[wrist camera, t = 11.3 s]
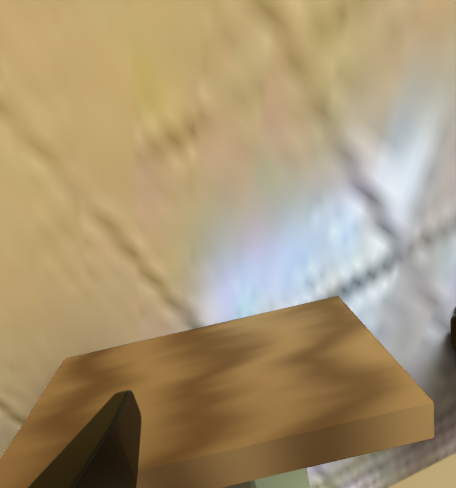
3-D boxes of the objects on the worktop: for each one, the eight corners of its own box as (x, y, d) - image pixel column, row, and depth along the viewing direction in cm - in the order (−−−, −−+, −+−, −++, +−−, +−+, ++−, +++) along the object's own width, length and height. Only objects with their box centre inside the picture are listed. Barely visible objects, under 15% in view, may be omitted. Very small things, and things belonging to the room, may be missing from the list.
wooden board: (338, 295, 23) (433, 402, 14) (347, 370, 25) (435, 508, 16) (65, 358, 23) (-33, 510, 13) (96, 428, 25) (30, 604, 15)
